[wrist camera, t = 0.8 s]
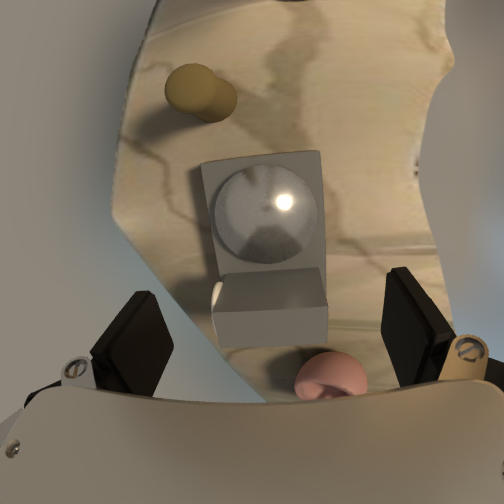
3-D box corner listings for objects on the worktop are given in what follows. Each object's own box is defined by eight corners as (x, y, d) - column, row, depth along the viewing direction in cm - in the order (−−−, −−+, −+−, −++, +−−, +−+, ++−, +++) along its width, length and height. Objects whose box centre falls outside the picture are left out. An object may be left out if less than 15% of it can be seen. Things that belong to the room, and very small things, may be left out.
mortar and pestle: (280, 358, 46) (278, 410, 36) (339, 325, 42) (351, 377, 32) (316, 390, 49) (320, 438, 38) (370, 362, 45) (384, 411, 35)
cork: (184, 91, 31) (146, 75, 21) (226, 71, 29) (203, 45, 19) (201, 130, 33) (168, 128, 23) (244, 110, 31) (229, 98, 21)
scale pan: (209, 171, 32) (207, 172, 31) (312, 160, 30) (313, 160, 29) (224, 263, 36) (223, 267, 35) (318, 256, 35) (319, 260, 34)
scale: (206, 161, 34) (172, 173, 23) (316, 150, 33) (334, 155, 22) (230, 299, 42) (213, 353, 31) (323, 293, 40) (335, 348, 29)
